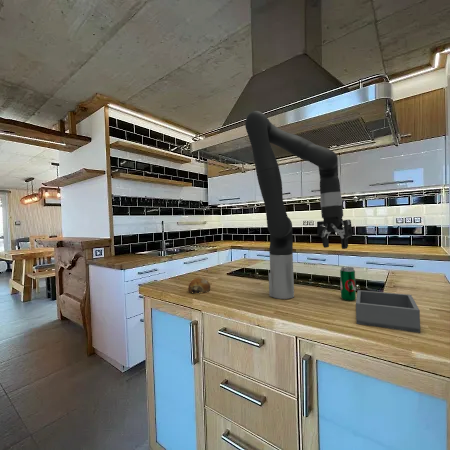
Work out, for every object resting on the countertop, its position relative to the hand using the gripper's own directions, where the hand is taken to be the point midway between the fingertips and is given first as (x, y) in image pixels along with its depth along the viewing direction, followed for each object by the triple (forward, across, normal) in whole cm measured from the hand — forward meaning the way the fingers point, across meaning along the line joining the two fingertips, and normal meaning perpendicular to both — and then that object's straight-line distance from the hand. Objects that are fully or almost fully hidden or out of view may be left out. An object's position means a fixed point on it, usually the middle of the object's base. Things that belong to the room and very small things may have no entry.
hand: (335, 248), depth 96 cm
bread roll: (+17, -42, -41) cm, 61 cm away
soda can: (+20, +1, +4) cm, 20 cm away
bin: (+20, +19, -3) cm, 28 cm away
